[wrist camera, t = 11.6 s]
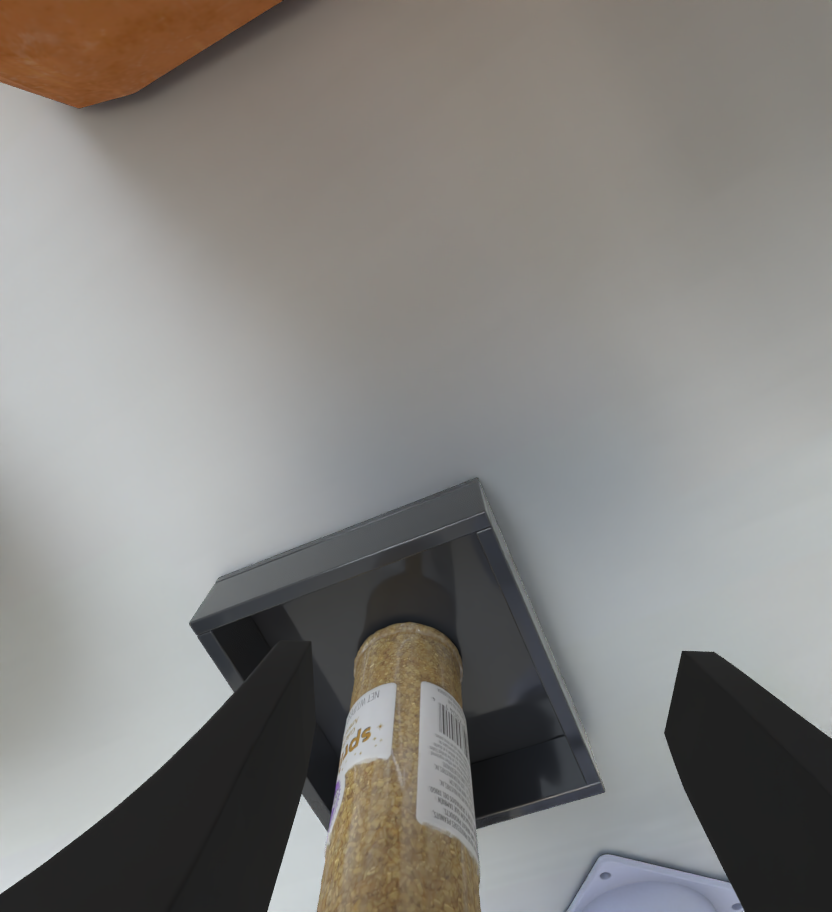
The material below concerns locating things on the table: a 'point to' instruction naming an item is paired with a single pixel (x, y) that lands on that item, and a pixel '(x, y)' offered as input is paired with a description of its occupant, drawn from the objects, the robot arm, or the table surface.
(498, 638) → the dark gray square tray
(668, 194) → the table surface
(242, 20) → the bread
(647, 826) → the table surface
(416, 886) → the sprinkles bottle
